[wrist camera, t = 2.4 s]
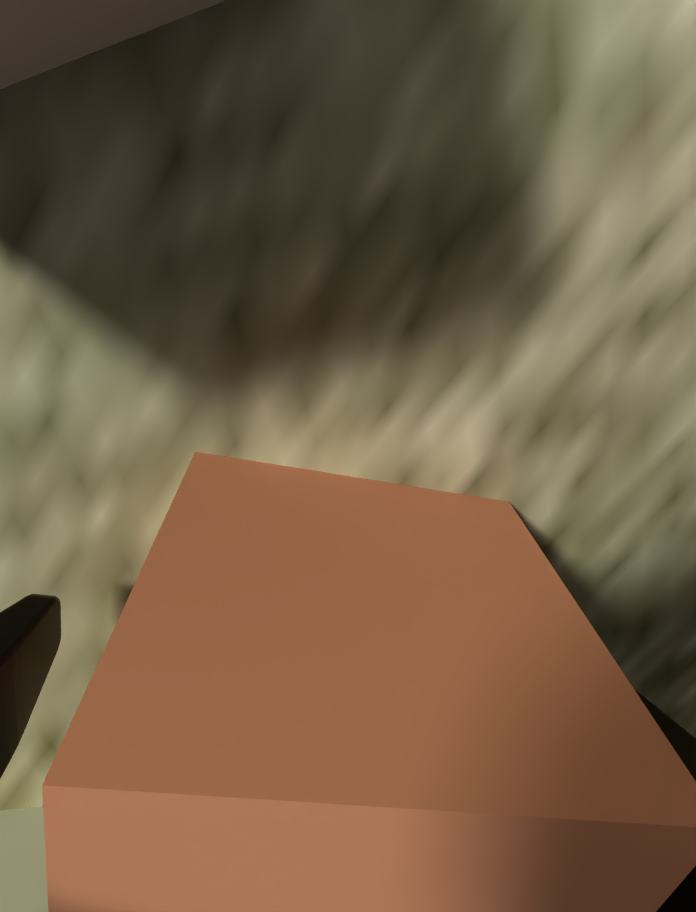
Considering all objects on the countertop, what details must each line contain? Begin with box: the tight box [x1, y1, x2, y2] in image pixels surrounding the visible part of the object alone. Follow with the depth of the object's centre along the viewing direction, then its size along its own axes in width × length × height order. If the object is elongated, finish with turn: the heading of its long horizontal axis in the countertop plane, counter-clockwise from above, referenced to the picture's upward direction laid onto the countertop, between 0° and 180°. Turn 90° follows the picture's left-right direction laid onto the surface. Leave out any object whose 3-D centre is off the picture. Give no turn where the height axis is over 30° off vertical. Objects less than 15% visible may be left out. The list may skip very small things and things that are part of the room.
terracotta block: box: [42, 452, 696, 912], centre depth 8 cm, size 6×6×6 cm
